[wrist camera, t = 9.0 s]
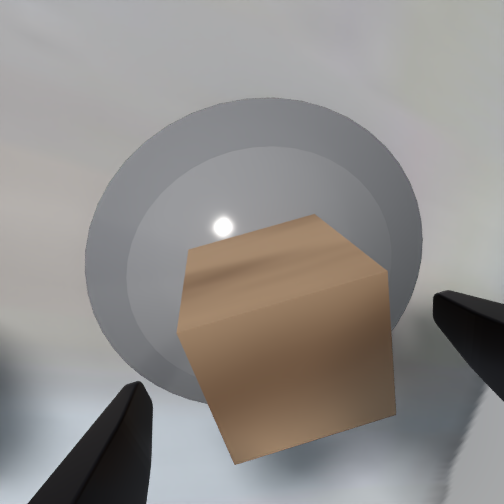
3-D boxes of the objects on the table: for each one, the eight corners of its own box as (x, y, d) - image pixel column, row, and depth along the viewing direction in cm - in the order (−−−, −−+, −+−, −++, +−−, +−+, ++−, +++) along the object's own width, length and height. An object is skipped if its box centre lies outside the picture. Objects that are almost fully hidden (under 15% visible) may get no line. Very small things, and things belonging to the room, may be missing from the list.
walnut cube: (331, 316, 13) (396, 414, 9) (224, 348, 13) (234, 465, 9) (314, 213, 11) (387, 271, 7) (188, 249, 11) (176, 332, 7)
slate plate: (410, 347, 16) (424, 362, 15) (165, 420, 16) (162, 441, 15) (404, 56, 11) (425, 49, 10) (22, 157, 10) (1, 160, 9)
